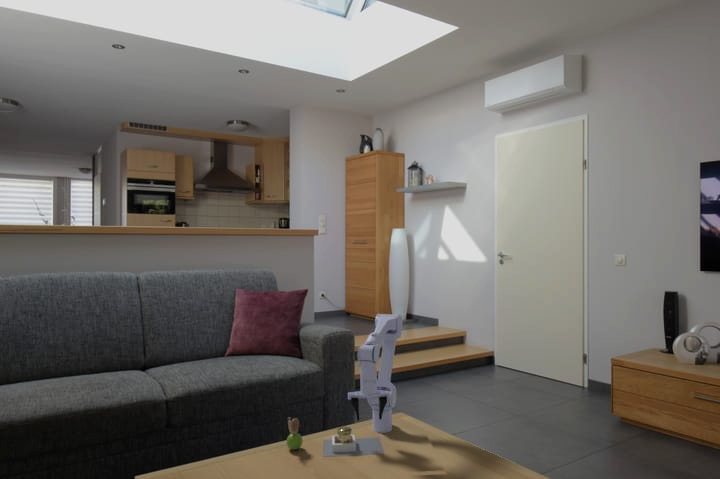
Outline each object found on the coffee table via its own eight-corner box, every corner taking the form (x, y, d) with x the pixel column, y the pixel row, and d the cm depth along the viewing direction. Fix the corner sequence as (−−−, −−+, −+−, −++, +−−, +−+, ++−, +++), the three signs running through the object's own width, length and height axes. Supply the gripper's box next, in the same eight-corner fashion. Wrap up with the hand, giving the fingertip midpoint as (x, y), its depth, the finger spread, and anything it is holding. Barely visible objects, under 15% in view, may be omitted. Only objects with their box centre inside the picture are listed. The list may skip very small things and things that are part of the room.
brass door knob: (337, 444, 171) (336, 427, 171) (351, 443, 171) (351, 426, 171) (337, 450, 166) (337, 432, 166) (352, 449, 166) (351, 432, 166)
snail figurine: (282, 452, 168) (281, 416, 168) (291, 445, 174) (291, 410, 174) (296, 454, 166) (295, 418, 166) (305, 447, 172) (305, 412, 172)
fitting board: (323, 442, 175) (323, 432, 175) (379, 440, 177) (379, 430, 177) (323, 459, 161) (323, 448, 161) (384, 457, 163) (384, 446, 163)
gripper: (348, 383, 167) (348, 424, 167) (390, 382, 168) (391, 422, 168) (347, 378, 174) (347, 416, 174) (388, 376, 175) (388, 415, 175)
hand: (369, 419), depth 172 cm, fingers open, 7 cm apart
